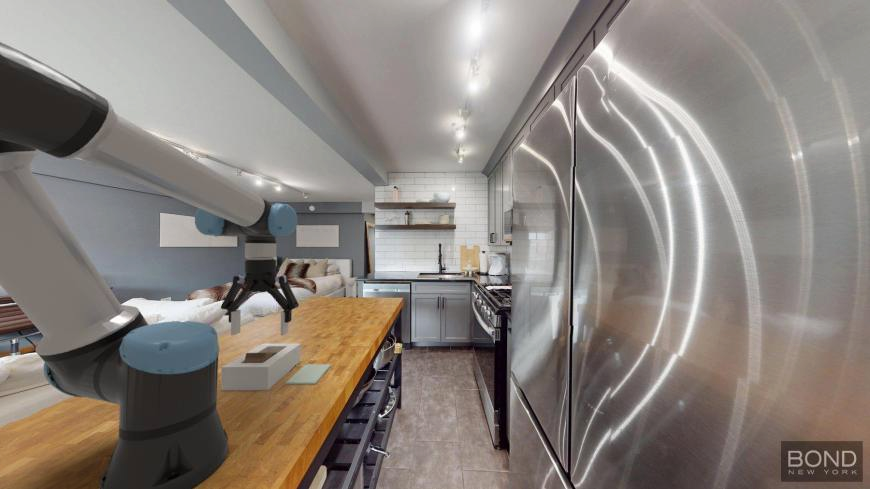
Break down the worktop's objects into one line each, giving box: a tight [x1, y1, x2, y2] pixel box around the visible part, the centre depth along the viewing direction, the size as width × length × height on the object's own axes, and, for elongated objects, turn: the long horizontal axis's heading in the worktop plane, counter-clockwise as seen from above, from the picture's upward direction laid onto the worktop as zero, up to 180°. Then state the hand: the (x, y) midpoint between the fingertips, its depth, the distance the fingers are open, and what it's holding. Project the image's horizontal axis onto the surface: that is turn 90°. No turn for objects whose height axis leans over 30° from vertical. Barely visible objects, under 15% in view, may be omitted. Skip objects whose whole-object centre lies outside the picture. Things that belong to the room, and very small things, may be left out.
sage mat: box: [285, 363, 332, 386], centre depth 81 cm, size 12×8×1 cm, turn 1°
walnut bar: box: [244, 352, 277, 363], centre depth 81 cm, size 12×5×2 cm, turn 2°
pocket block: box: [220, 343, 302, 391], centre depth 80 cm, size 18×12×6 cm, turn 1°
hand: (260, 334), depth 78 cm, fingers open, 13 cm apart
